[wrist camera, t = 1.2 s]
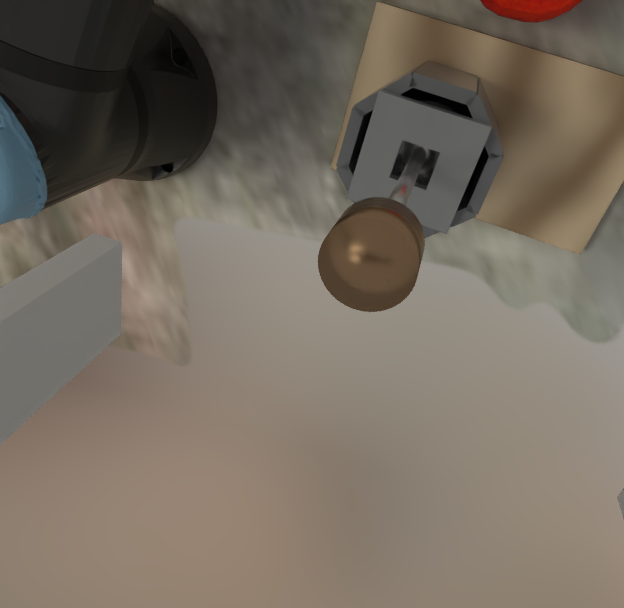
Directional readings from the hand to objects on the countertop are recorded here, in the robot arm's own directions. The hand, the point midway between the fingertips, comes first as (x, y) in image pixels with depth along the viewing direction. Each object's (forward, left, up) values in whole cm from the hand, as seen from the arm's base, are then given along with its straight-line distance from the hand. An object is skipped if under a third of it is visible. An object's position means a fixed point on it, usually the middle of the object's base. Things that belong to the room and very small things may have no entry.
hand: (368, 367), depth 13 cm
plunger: (-1, -1, -27) cm, 27 cm away
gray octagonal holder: (-1, -2, -35) cm, 35 cm away
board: (+3, 0, -36) cm, 36 cm away
